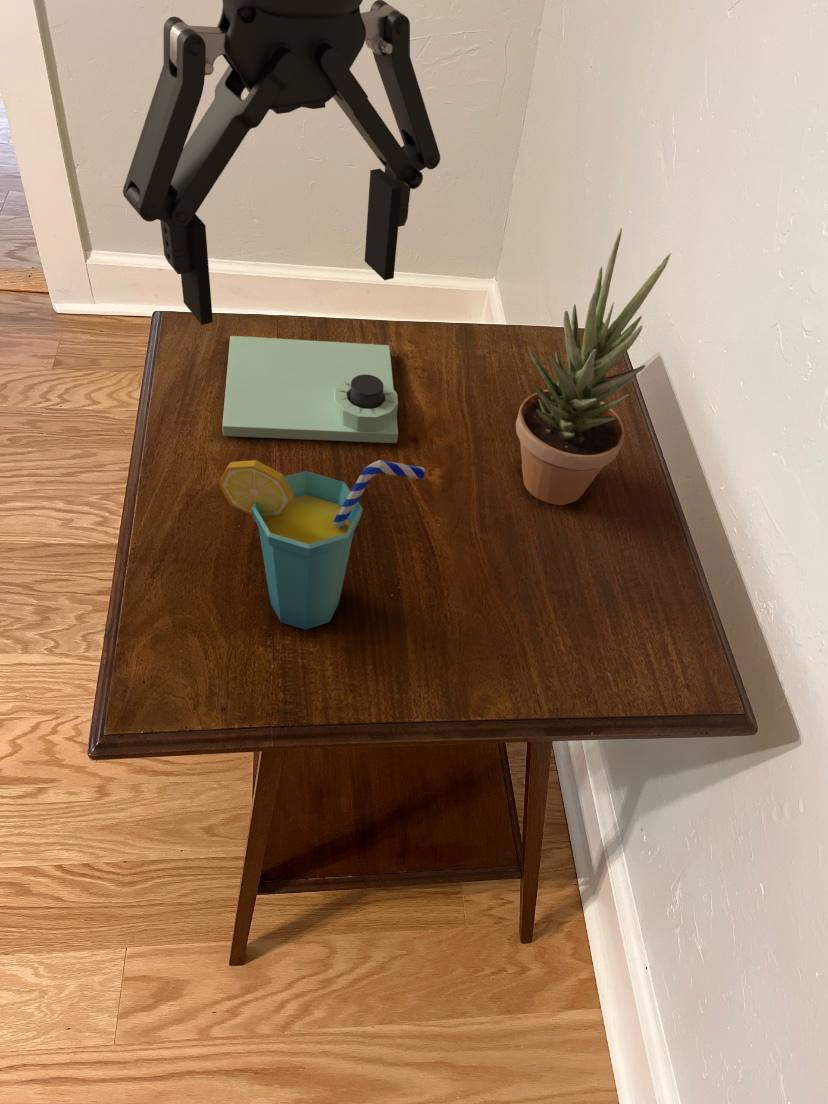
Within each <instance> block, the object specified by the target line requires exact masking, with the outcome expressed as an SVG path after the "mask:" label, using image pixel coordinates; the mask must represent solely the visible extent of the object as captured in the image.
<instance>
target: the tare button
mask: <svg viewBox="0 0 828 1104" xmlns="http://www.w3.org/2000/svg"><path fill="white" fill-rule="evenodd" d="M382 396H383V383H382V381H381V380H380V379H379V378H377V377H375V376H372V375H359V376H356V377H354V378H353V379H352V381H351V390H350V400H351V402H352V404H353V405H355V406H357V407H360V408H363V409H374V408H377V407H378V406H380V404H381V403H382Z"/></svg>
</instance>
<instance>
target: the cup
mask: <svg viewBox="0 0 828 1104" xmlns="http://www.w3.org/2000/svg"><path fill="white" fill-rule="evenodd" d="M228 463H229V464H228V465H227V467H226V469H225V470H224V472H223V474H222V476H221V478H220V480H219V482H218V484H217V485H218V486H219V488H220V490H221V491H222V493H223V495H224V496H225V498H226V500H227V502H228V503H229V504H230V506H232V507H234V508H236V509H238V510H239V511H242V512H243V513H245V514H248V515H249V516H251V517H252V518H253V519H254V521H255V523H256V525H257V526H258V532H259V540H260V545H261V551H262V552H261V553H262V558H263V565H264V571H265V577H266V582H267V583H266V584H267V590H268V595H269V596H268V597H269V602H270V606H271V607H272V609H273V610H274V613H275V615H276V616H277V618H278V620H279V621H280V623H282V624H286V625H288V626H292V627H295V628H298V629H302V630H305V631H307V630H310V629H312V628H315V627H318V626H321V625H324V624H328V623H330V622H331V621H332V619H333V616H334V614H335V612H336V610H337V608H338V606H339V604H340V599H341V594H342V590H343V586H344V580H345V576H346V570H347V565H348V561H349V557H350V553H351V548H352V542H353V538H354V534H355V533H354V532H355V530H356V528H357V526H358V524H359V522H360V520H361V517H362V513H363V510H364V509H363V507H362V506H361V504H360V503H359V500H360V499H361V496H362V495H363V494H364V491H366V488H367V487H368V485H369V483H370V481H372V478H373V477H375V476H377V475H379V474H384V475H391V476H396V477H403V478H409V479H418V480H423V478H424V477H425V474H426V469H425V467H423V466H417V465H412V464H406V463H401V462H394V461H389V460H385V459H384V460H383V459H378V460H376V461H374V462H372V463H370V464H368V465H367V466H366V467H364V468H363V470H362V471H361V473H360V474H359V476H358V478H357V479H356V481H355V482H354V485H353V486H352V488H351V489H350V488H349V486H348V485H347V483H346V482H345V481H342V480H338V479H335V478H332V477H328V476H325V475H321V474H318V473H315V472H312V471H308V470H304V471H300V472H297V473H293V474H289V475H284V474H283V473H281V472H279V471H277V470H275V469H274V468H271V467H270V466H268V465H266V464H265V463H262V462H260V461H258V460H257V459H252V460H241V461H240V460H239V461H229V462H228Z"/></svg>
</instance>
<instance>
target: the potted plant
mask: <svg viewBox="0 0 828 1104" xmlns="http://www.w3.org/2000/svg"><path fill="white" fill-rule="evenodd" d="M622 232H623V228H622V227H621V228H620V229H619V231H618V233H617V235H616V238H615V241H614V243H613V246H612V250H611V253H610V255H609V258H608V262H607V265H606V269H605V273H604V277H603V266H602V265H601V266H600V268H599V271H598V274H597V278H596V282H595V286H594V292H593V294H592V296H591V299H590V301H589V305H588V309H587V314H586V319H585V325H584V331H583V336H582V337H583V338H582V345H581V338H580V329H579V320H578V313H577V305H576V303H574V304H573V307H572V312H571V318H570V315H569V311H568V310H565V311H564V314H563V332H564V343H565V351H566V352H565V353H566V359H567V367H568V369H566V367H565V366H564V364H563V361H562V359H561V357H560V355H559V353H558V351H555V353H554V354H555V355H553V354H550V355H549V358H548V359H549V362H550V366H551V370H552V372H553V374H554V376H555V379H556V382H555V381H554V380H553V378H552V377H551V375H549V373H548V372H547V371H546V370H545V368H544V367H543V366H542V364H541V363H540V362H539V360H538V359H537V358H536V356H535V354H534V353H533V351H531V350H530V349H528V354H529V356H530V359H531V360H532V362H533V364H534V366H535V367H536V369H537V371H538V372H539V374H540V376H541V377H542V379H543V381H544V382H545V383H546V385H547V386H546V389H544V390H543V389H541V388H540V387H539V386H538V385H536V384H535V383H534V382H532V383H531V386H532V389H533V390H534V391H535V393H532V394H531V395H529V396H528V397H526V398H525V399H524V400H523V402H522V403H521V405H520V407H519V410H518V414H517V418H516V421H515V431H516V435H517V437H518V440H519V442H520V444H519V445H520V454H521V455H520V456H521V473H522V478H523V484H524V488H525V489H526V490H527V492H528V493H530V494H531V496H533V497H534V498H536V499H537V500H538V501H539V500H540V501H542V502H544V503H546V504H551V505H554V506H565V505H569V504H572V503H575V502H577V501H578V500H579V499H580V498H581V497H582V496H583V495H584V493H585V492H586V490H587V489H588V488H589V487H590V485H591V484H592V483H593V482H594V480H595V478H597V476H598V475H599V473H600V472H601V470H602V469H603V468H604V467H605V466H607V465H609V464H611V463H612V462H613V461H614V460H615V458H616V457H617V456H618V454H619V452H620V450H621V448H622V446H623V443H624V439H625V427H624V424H623V422H622V420H621V418H620V416H619V414H618V413H616V412H615V411H614V410H613V409H612V408H615V407H616V406H618V405H619V404H621V403H622V402H623V401H625V400H626V399H627V398H628V397H629V396H630V393H627V394H625V395H622V396H620V397H618V398H616V399H613V400H610V401H608V402H604V401H605V400H607V399H609V398H610V397H611V396H613V395H614V394H616V393H618V392H619V391H621V390H622V389H623V388H625V387H626V386H628V385H629V384H630V383H632V382H633V381H635V380H636V379H637V377H638V374H639V373H641V372H642V371H643V370H644V369H645V367H646V364H643V365H641V366H639V367H637V368H633V369H631V370H627V371H625V372H621V373H619V374H615V375H610V376H605V375H607V373H608V372H609V371H610V370H611V369H612V368H613V367H614V366H615V365H616V364H617V363H618V362H619V361H620V360H621V358H623V356H624V355H625V354H626V353H627V352H628V351H629V349H630V348H631V347H632V346H633V344H634V343H635V342H636V340H637V338H638V337H639V335H640V334H641V332H642V329H643V328H644V326H643V325H639V323H640V321H642V316H643V315H640V316H639V317H638V318H637V319H636V320H635V321H634V322H632V323H631V324H630V325H629V326H628V324H629V323H630V322H631V320H632V318H633V317H634V316H635V315H636V313H637V312H638V310H639V309H640V308H641V306H642V304H643V303H644V302H645V300H646V299H647V298H648V296H649V294H650V292H651V291H652V290H653V288H654V286H655V285H656V283H657V282H658V280H659V278H660V277H661V275H662V273H663V272H664V270H665V269H666V267H667V264H668V262H669V259H670V257H671V255H672V252H670V253H668V254H667V256H666V257H665V258H664V259H663V260H662V262H661V264H659V265H658V266H657V267H656V269H655V270H654V271H653V272H652V273H651V275H649V277H648V279H646V281H645V282H644V283H643V284H642V285H641V287H640V288H639V289H638V290H637V292H636V293H635V295H634V296H633V297H632V298H631V299H630V301H628V303H627V304H626V306H625V307H624V308H623V310H622V311H621V312H620V313H619V315H618V316H617V318H616V319H615V320H614V321H612V322H611V318H612V313H613V309H614V304H615V302H613V303H612V304H611V307H610V309H609V312H608V314H607V316H606V318H605V317H604V316H605V311H606V306H607V302H608V297H609V292H610V287H611V282H612V278H613V272H614V269H615V264H616V260H617V255H618V251H619V247H620V242H621V238H622V234H623V233H622ZM604 318H605V322H604ZM570 319H571V320H570ZM610 322H611V324H610ZM627 326H628V327H627ZM638 326H639V327H638ZM625 328H626V329H625Z"/></svg>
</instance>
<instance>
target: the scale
mask: <svg viewBox="0 0 828 1104" xmlns="http://www.w3.org/2000/svg"><path fill="white" fill-rule="evenodd" d="M228 344H229V346H228V357H227V369H226V379H225V392H224V404H223V414H222V415H223V416H222V423H221V424H222V436H223V437H239V438H260V439H261V438H263V439H284V440H285V439H286V440H287V439H288V440H311V441H333V442H334V441H335V442H355V443H357V442H358V443H359V442H360V443H379V444H383V443H384V444H397V443H398V439H399V427H398V417H397V416H398V409H399V398H398V393H397V391H396V390H395V388H394V387H395V386H394V377H393V376H394V375H393V367H392V366H393V365H392V357H391V347H390V345H389V344H373V343H361V342H360V343H358V342H340V341H325V340H324V341H323V340H309V339H308V340H307V339H295V338H294V339H291V338H277V337H276V338H275V337H260V336H259V337H258V336H257V337H256V336H243V335H230V336H229V343H228ZM359 375H372V376H375V377H377V378H379V379H380V380H381V381H382V383H383V396H382V403H381V404H380V406H378V407H377V408H374V409H363V408H360V407H357V406H355V405H353V404H352V402H351V400H350V390H351V381H352V379H353V378H354V377H356V376H359Z"/></svg>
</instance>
